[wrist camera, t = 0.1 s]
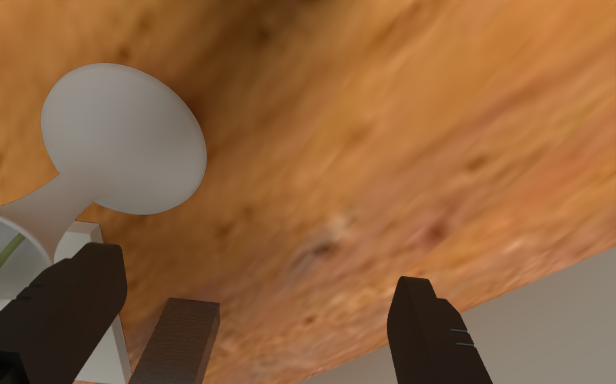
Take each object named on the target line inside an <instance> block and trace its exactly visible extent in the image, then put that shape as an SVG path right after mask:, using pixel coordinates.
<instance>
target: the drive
mask: <svg viewBox="0 0 616 384" xmlns="http://www.w3.org/2000/svg"><path fill="white" fill-rule="evenodd" d="M219 325H220V303H212V302H203V301H194V300H185V299H176V298H169V300H168V302H167V304H166V306H165V309H164V311H163V313H162V315H161V317H160V319H159V321H158V323H157V325H156V327H155V329H154V331H153V333H152V335H151V337H150V339H149V342H148V344H147V346H146V348H145V350H144V352H143V354H142V356H141V358H140V360H139V362H138V364H137V366H136V368H135V370H134V372H133V375H132V377H131V379H130V381H129V383H128V384H202V382H203V379H204V375H205V372H206V369H207V365H208V362H209V359H210V355H211V352H212V348H213V345H214V342H215V338H216V335H217V332H218V328H219Z"/></svg>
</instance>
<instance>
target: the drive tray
mask: <svg viewBox="0 0 616 384" xmlns="http://www.w3.org/2000/svg"><path fill="white" fill-rule="evenodd" d="M88 242H97V243H103V239H102V234H101V229H100V225H99V224H97V223H88V222H80V221H74V222H73V223H72V224H71V226H70V227H69V228H68V229H67V231H66V232H65V234H64V235H63V237H62V239H61V240H60V242H59V244H58V246H57V249H56V252H55V255H54V264H55V263H57V262H59V261H61V260H62V259H64V258H72V257H73V256H74V255H75V254H76V253H77V252H78V251H79V250H80V249H81V248H82V247H83V246H84V245H85V244H86V243H88ZM10 301H11V300H5V299H0V311H1V310H2V309H3V308H4V307H5V306H6V305H7V304H8V303H9V302H10ZM131 374H132V371H131V367H130V362H129V357H128V353H127V348H126V344H125V339H124V335H123V330H122V325H121V321H120V316H119V313H118V315H117V317H116V318H115V320H114V321H113V323H112V324H111V326H110V327H109V329H108V330H107V332H106V333H105V335H104V336H103V338H102V339H101V341H100V342H99V344H98V345H97V347H96V348H95V350H94V351H93V353H92V354H91V356H90V357H89V359H88V360H87V362H86V363H85V365H84V366H83V368H82V369H81V371H80V372H79V374H78V375H77V377H76V379H75V380H78V381H88V382H98V383H108V384H127V382H128V380H129V378H130V376H131Z"/></svg>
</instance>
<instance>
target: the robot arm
mask: <svg viewBox="0 0 616 384" xmlns="http://www.w3.org/2000/svg"><path fill="white" fill-rule="evenodd" d="M126 296H127V281H126V274H125V267H124V261H123V254H122V249H121V247H120V246H119V245H116V244H107V243H97V242H88V243H86V244H85V245H84V246H83V247H82V248H81V249H80V250H79V251H78V252H77V253H76V254H75V255H74V256H73V257H72V258H64V259H62V260H61V261H59V262H57V263H55V264H53V265H52V266H50V267H48V268H46V269H44V270H43V271H42V272H41V273H40V274H39V275H38V276H37V277H36V278H35V279H34V280H33V281H32V282H31V283H30V284H29V287H25V288H24V289H23V290H22V291H21V292H20V293H19V294H18V295H17V296H16V299H13V300H11V301H10V302H9V303H8V304H7V305H6V306H5V307H4V308H3V309H2V310H1V311H0V384H72V383H73V382H74V380H75V379H76V377H77V375H78V374H79V372H80V371H81V369H82V368H83V366H84V365H85V363H86V362H87V360H88V359H89V357H90V356H91V354H92V353H93V351H94V350H95V348H96V347H97V345H98V344H99V342H100V341H101V339H102V338H103V336H104V335H105V333H106V332H107V330H108V329H109V327H110V326H111V324H112V323H113V321H114V320H115V318H116V317H117V315H118V313H119V312H120V310H121V309H122V307H123V305H124V303H125V300H126ZM387 335H388V340H389V345H390V349H391V354H392V359H393V363H394V368H395V372H396V377H397V381H398V384H493V383H492V381H491V379H490V376H489V374H488V372H487V370H486V368H485V366H484V364H483V362H482V360H481V358H480V355H479V353H478V351H477V349H476V348H475V347H474V343H473V341H472V339H471V337H470V334H468V333H467V328H466V326H465V324H464V322H463V320H462V318H461V315H460V314H459V312H458V311H457V310H456V309H455V308H454V307H453V306H452V305H451V304H450V303H449V302H448V301H447V300H446V299H440V298H437V297H436V295H435V292H434V290H433V287H432V285H431V283H430V281H429V280H428V279H424V278H415V277H406V276H401V277H400V278H399V280H398V283H397V287H396V290H395V293H394V297H393V300H392V303H391V307H390V310H389V314H388V319H387Z"/></svg>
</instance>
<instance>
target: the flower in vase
mask: <svg viewBox="0 0 616 384" xmlns="http://www.w3.org/2000/svg"><path fill="white" fill-rule="evenodd" d="M41 133H42V137H43V142H44V144H45V147H46V150H47V152H48V154H49V156H50V158H51V160H52V162H53V164H54V166H55V167H56V169H57V171H58V172H59V173H60V174H59V175H58V176H56V177H55V178H54V179H53V180H51V181H50V182H48V183H47V184H45V185H44V186H42V187H41V188H39V189H38V190H36V191H34V192H32V193H30V194H28V195H26V196H24V197H22V198H20V199H18V200H15V201H13V202H10V203H8V204H5V205H2V206H0V299H5V300H13V299H16V296H17V295H18V294H19V293H20V292H21V291H22V290H23V289H24V288H25V287H29V284H30V283H31V282H32V281H33V280H34V279H35V278H36V277H37V276H38V275H39V274H40V273H41V272H42V271H43V270H44V269H46V268H48V267H50V266H52V265H53V264H54V255H55V252H56V249H57V246H58V244H59V242H60V240H61V239H62V237H63V235H64V234H65V232H66V231H67V229H68V228H69V227H70V226H71V224H72V223H73V222H74V220H75V219H76V218H77V217H78V216H79V215H80V214H81V213H82V212H83V211H84V210H85V209H86V208H87V207H88V206H89V205H90V204H92V203H93V202H94V203H96V204H99V205H101V206H103V207H106V208H109V209H112V210H115V211H119V212H122V213H128V214H135V215H149V214H156V213H161V212H164V211H167V210H169V209H172V208H174V207H176V206H178V205H180V204H182V203H183V202H185V201H186V200H188V199H189V198H190V197H191V196H192V195H193V194H194V193H195V192H196V190H197V189H198V188H199V186H200V184H201V182H202V180H203V177H204V175H205V171H206V165H207V151H206V144H205V140H204V136H203V133H202V131H201V128H200V126H199V124H198V122H197V120H196V118H195V116H194V115H193V113H192V112H191V110H190V109H189V107H188V106H187V105H186V104H185V103H184V101H183V100H182V99H181V98H180V97H179V96H178V95H177V94H176V93H175V92H174V91H173V90H171V89H170V88H169V87H168V86H166V85H165V84H164V83H162V82H161V81H160V80H158V79H156V78H154V77H153V76H151V75H149V74H147V73H145V72H142V71H140V70H138V69H135V68H132V67H129V66H125V65H120V64H114V63H95V64H88V65H84V66H80V67H78V68H76V69H73V70H71V71H70V72H68V73H67V74H65V75H64V76H62V77H61V78H60V79H59V80H58V81H57V82H56V84H55V85H54V86H53V88H52V89H51V91H50V92H49V94H48V96H47V98H46V100H45V102H44V105H43V109H42V113H41Z"/></svg>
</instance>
